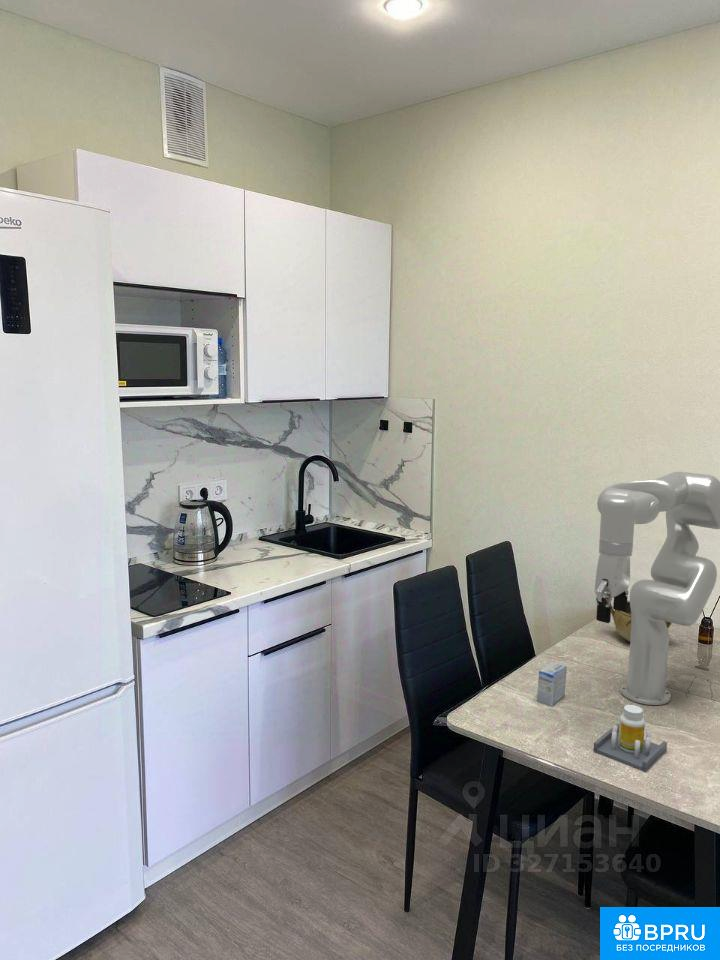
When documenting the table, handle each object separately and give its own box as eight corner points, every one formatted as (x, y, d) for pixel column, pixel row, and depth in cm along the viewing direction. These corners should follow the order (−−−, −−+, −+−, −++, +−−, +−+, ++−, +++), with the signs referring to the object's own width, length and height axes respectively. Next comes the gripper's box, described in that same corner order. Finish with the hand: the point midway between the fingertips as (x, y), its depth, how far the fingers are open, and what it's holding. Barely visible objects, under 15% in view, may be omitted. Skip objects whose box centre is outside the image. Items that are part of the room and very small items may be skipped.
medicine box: (549, 691, 195) (551, 661, 194) (565, 696, 192) (567, 665, 191) (536, 701, 189) (538, 670, 188) (552, 707, 186) (554, 675, 185)
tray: (615, 732, 173) (617, 713, 173) (666, 751, 165) (668, 731, 165) (593, 751, 165) (594, 732, 164) (645, 772, 157) (647, 751, 156)
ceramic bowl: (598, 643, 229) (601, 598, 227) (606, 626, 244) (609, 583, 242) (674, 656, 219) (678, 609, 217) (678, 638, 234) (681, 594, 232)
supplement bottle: (615, 741, 168) (617, 702, 166) (638, 742, 168) (641, 703, 166) (621, 753, 163) (624, 713, 161) (646, 754, 162) (649, 714, 161)
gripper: (615, 537, 180) (611, 603, 183) (584, 552, 167) (581, 622, 170) (645, 542, 175) (640, 610, 178) (616, 558, 162) (612, 630, 165)
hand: (611, 615), depth 174 cm, fingers open, 9 cm apart
